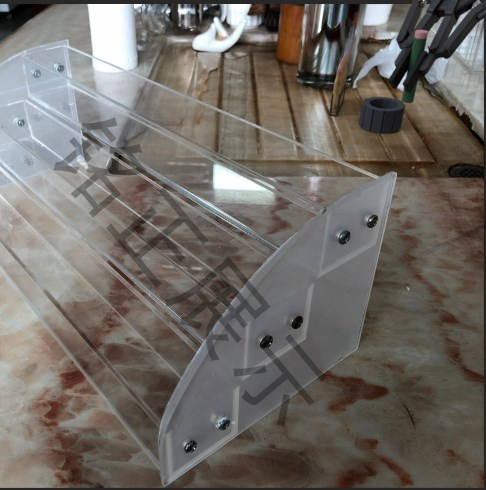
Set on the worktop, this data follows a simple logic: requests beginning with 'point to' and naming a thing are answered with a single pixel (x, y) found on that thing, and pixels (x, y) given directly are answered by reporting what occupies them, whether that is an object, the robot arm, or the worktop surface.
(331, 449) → the worktop surface
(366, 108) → the grooved round container
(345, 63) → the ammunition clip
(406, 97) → the pencil
